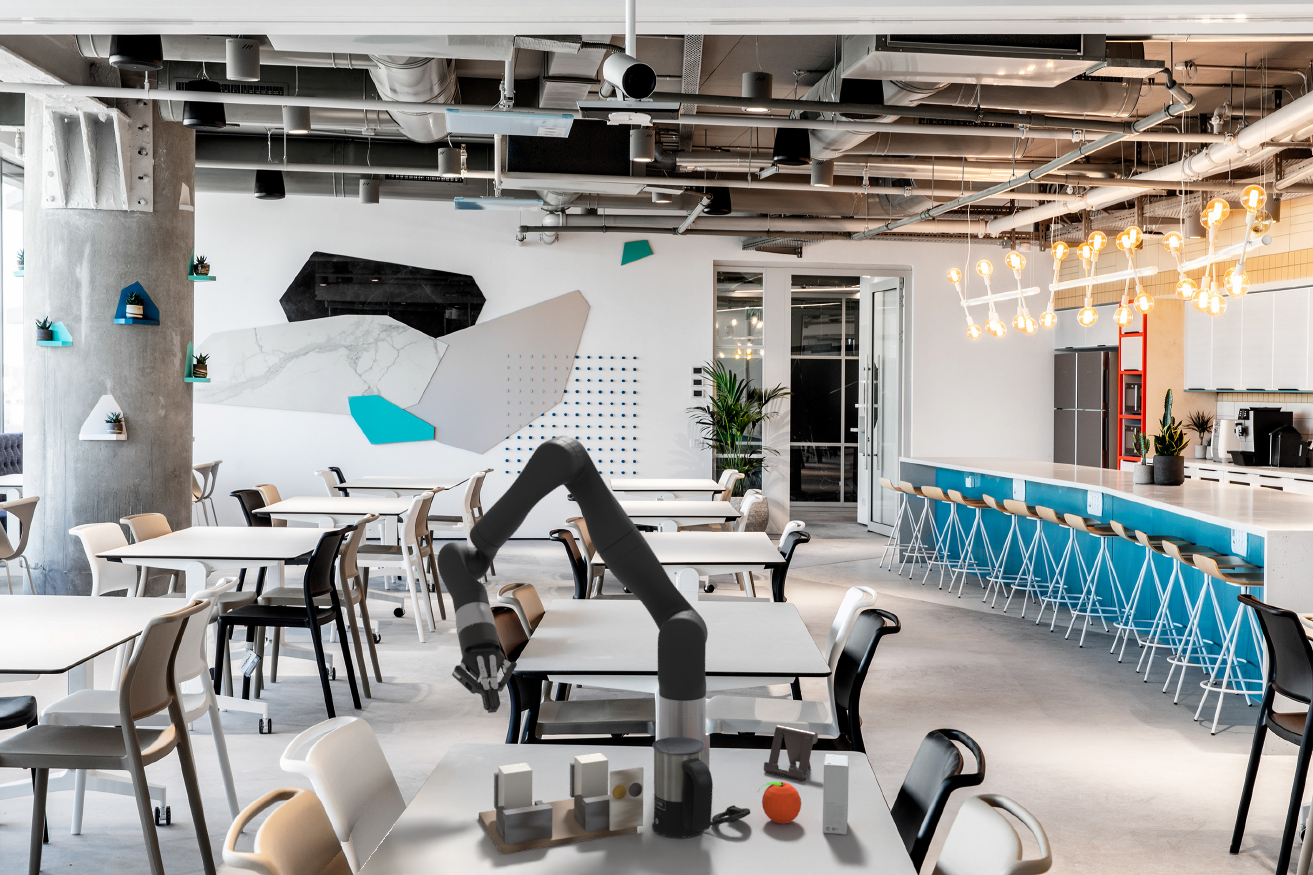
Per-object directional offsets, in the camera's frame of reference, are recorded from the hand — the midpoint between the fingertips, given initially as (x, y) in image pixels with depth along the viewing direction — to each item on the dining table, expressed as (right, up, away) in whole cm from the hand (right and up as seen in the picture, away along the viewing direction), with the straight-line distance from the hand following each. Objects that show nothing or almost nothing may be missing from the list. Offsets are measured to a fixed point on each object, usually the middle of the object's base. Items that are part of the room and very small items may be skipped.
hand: (493, 710), depth 193 cm
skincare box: (+62, -17, -13) cm, 66 cm away
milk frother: (+38, -17, -13) cm, 44 cm away
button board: (+13, -17, -13) cm, 25 cm away
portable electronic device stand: (+58, -17, +15) cm, 62 cm away
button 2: (+19, -15, -8) cm, 25 cm away
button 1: (+6, -15, -13) cm, 21 cm away
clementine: (+52, -17, -10) cm, 56 cm away
